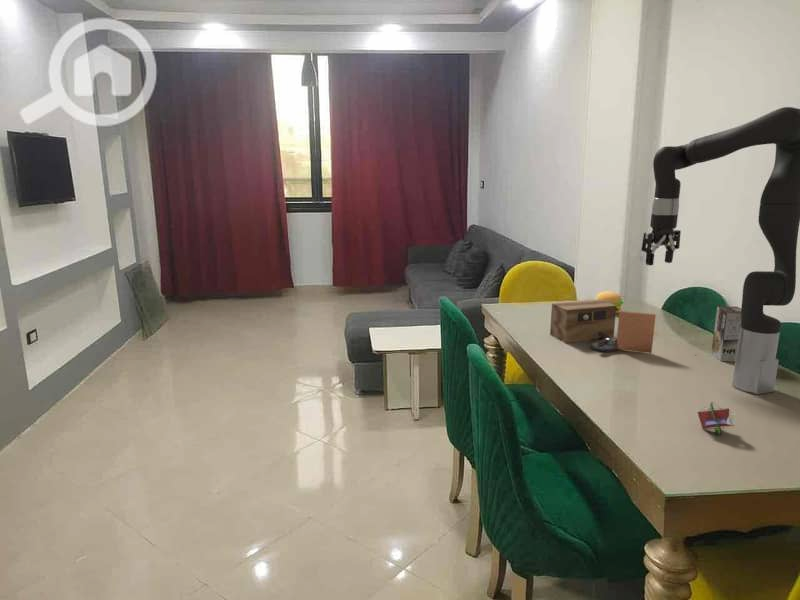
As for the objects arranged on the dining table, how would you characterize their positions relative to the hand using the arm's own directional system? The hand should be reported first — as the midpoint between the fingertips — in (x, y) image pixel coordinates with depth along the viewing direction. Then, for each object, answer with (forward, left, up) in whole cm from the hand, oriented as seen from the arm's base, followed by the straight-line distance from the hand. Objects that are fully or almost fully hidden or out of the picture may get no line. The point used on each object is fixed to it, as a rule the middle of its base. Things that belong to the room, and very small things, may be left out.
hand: (658, 263), depth 177 cm
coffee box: (-10, -22, -31) cm, 39 cm away
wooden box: (+23, +10, -30) cm, 39 cm away
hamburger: (+50, -21, -31) cm, 62 cm away
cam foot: (+6, +7, -30) cm, 31 cm away
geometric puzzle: (-50, +23, -31) cm, 63 cm away
